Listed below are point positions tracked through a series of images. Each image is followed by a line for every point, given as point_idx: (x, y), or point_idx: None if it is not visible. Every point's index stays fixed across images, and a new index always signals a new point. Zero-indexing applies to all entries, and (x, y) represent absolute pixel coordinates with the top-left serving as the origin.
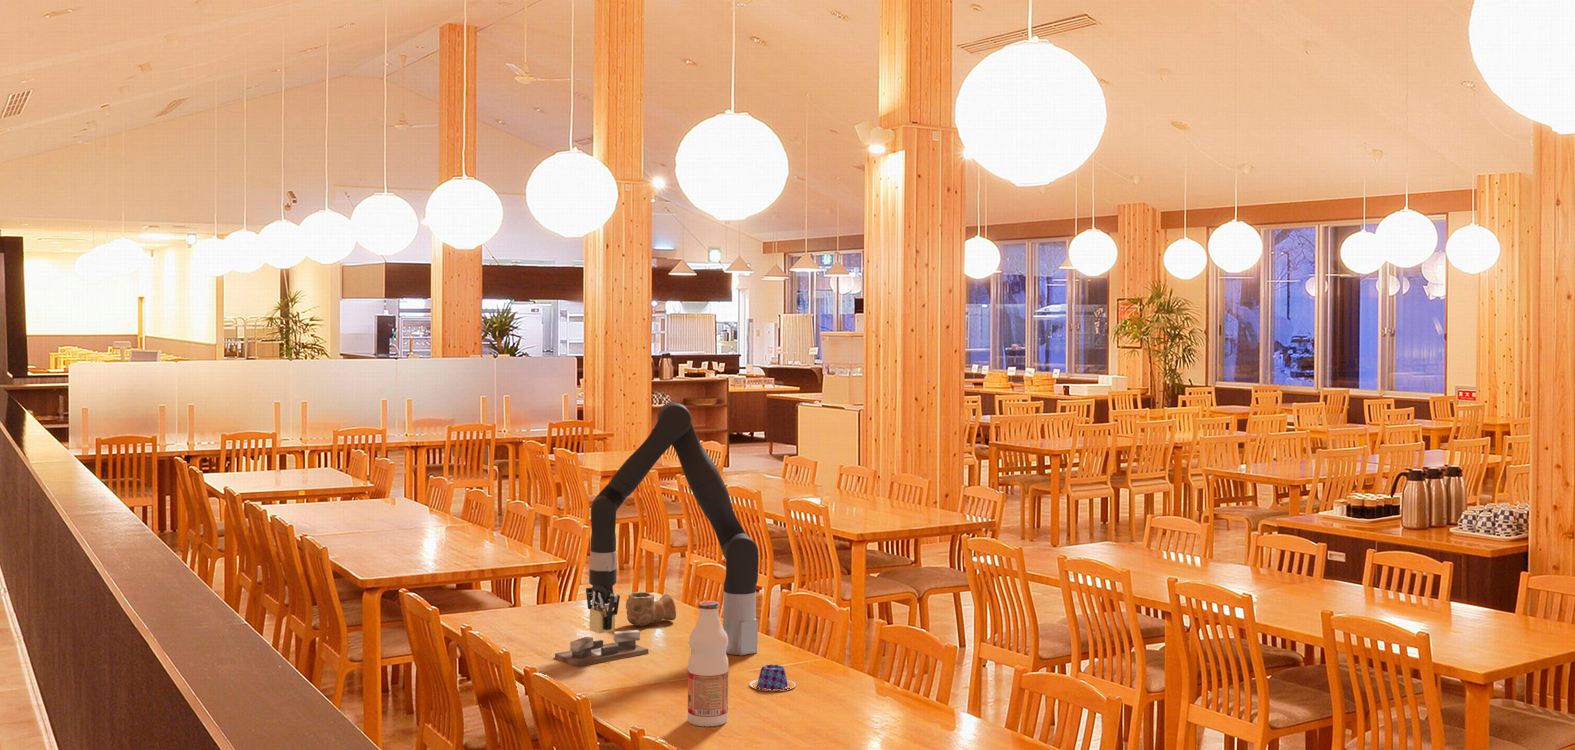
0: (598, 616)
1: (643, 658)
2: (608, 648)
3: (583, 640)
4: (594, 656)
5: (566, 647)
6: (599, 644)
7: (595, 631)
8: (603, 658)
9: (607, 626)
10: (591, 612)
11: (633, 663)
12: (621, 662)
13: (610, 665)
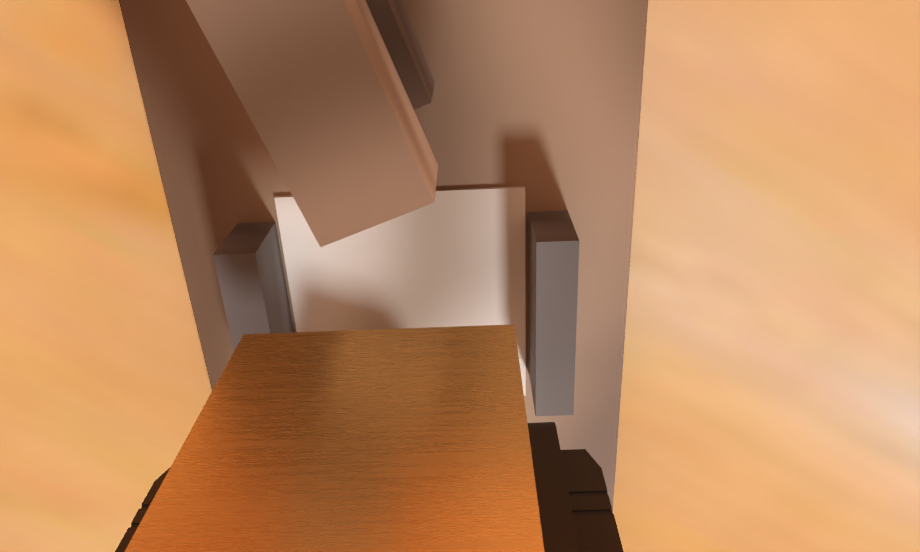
0: (183, 522)
1: (147, 485)
2: (227, 314)
3: (230, 45)
4: (253, 138)
5: (916, 161)
6: (532, 356)
7: (352, 335)
8: (169, 189)
9: (156, 484)
10: (472, 544)
11: (24, 361)
12: (98, 300)
13: (32, 169)
